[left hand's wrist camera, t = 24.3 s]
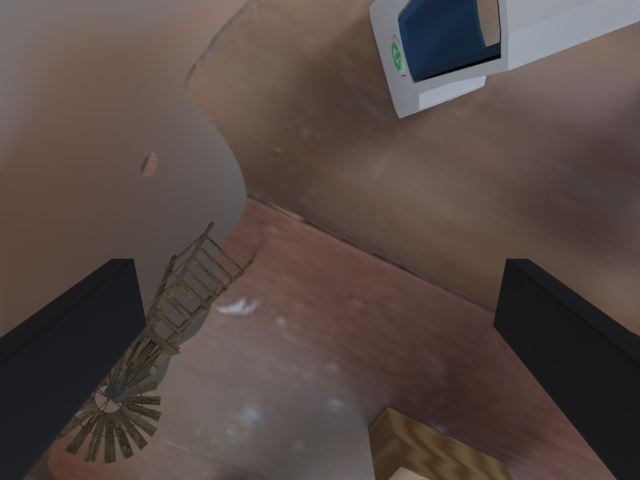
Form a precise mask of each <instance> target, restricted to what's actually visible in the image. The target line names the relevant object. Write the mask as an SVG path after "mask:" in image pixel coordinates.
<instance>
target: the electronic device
mask: <svg viewBox="0 0 640 480" xmlns="http://www.w3.org/2000/svg"><path fill="white" fill-rule="evenodd" d="M497 2H498V13H499V25H500V42H499V43H496V44H494V45H491V46H488V47H486V45H485V43H484V39H483V36H482V32H481V28H480V22H479V17H478V9H477V0H375V1H374V2H373V3H372V4H371V5H370V7H369V11H370V20H371V24H372V28H373V31H374V35H375V39H376V42H377V46H378V50H379V53H380V57H381V61H382V64H383V68H384V72H385V75H386V79H387V83H388V86H389V90H390V93H391V97H392V101H393V104H394V108H395V111H396V113H397V115H398V117H399V119H400V118H403V117H406V116H408V115H411V114H414V113H416V112H419V111H422V110H424V109H427V108H430V107H432V106H435V105H438V104H440V103H443V102H446V101H448V100H451V99H453V98H456V97H459V96H461V95H464V94H466V93H468V92H471V91H473V90H476V89H478V88H481V87H483V86H484V84H485V78H486V75H490V74H495V73H500V72H505V71H509V70H511V69H514V68H517V67H519V66H522V65H525V64H527V63H530V62H532V61H535V60H538V59H540V58H543V57H546V56H548V55H551V54H554V53H556V52H559V51H562V50H564V49H567V48H569V47H572V46H575V45H577V44H580V43H583V42H585V41H588V40H591V39H593V38H596V37H599V36H601V35H604V34H607V33H609V32H612V31H614V30H617V29H620V28H622V27H625V26H628V25H630V24H633V23H636V22H638V21H640V0H497Z"/></svg>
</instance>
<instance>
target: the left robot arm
mask: <svg viewBox="0 0 640 480" xmlns="http://www.w3.org/2000/svg"><path fill="white" fill-rule="evenodd" d="M146 326H147V325H146V320H145V315H144V309H143V305H142V299H141V294H140V289H139V284H138V279H137V274H136V269H135V264H134V259H111V260H109V261H108V262H107V263H105V264H104V265H102V266H101V267H100V268H98V269H97V270H95V271H94V272H93V273H91V274H90V275H88V276H87V277H86V278H84V279H83V280H81V281H80V282H79V283H77V284H76V285H74V286H73V287H71V288H70V289H69V290H67V291H66V292H65V293H63V294H62V295H60V296H59V297H57V298H56V299H55V300H53V301H52V302H51V303H49V304H48V305H46V306H45V307H43V308H42V309H41V310H39V311H38V312H36V313H35V314H34V315H32V316H31V317H29V318H28V319H27V320H25V321H24V322H22V323H21V324H20V325H18V326H17V327H15V328H14V329H13V330H11V331H10V332H8V333H7V334H6V335H4V336H2V337H0V480H23V479H24V478H25V476H26V475H27V474H28V473H29V472H30V470H31V469H32V468H33V467H34V465H35V464H36V463H37V462H38V460H39V459H40V458H41V457H42V455H43V454H44V453H45V452H46V450H47V449H48V448H49V447H50V445H51V444H52V443H53V442H54V440H55V439H56V438H57V437H58V436H59V434H60V433H61V432H62V431H63V429H64V428H65V427H66V426H67V424H68V423H69V422H70V421H71V419H72V418H73V417H74V416H75V414H76V413H77V412H78V411H79V409H80V408H81V407H82V406H83V404H84V403H85V402H86V401H87V399H88V398H89V397H90V396H91V395H92V393H93V392H94V391H95V390H96V388H97V387H98V386H99V385H100V383H101V382H102V381H103V380H104V378H105V377H106V376H107V375H108V373H109V372H110V371H111V370H112V368H113V367H114V366H115V365H116V363H117V362H118V361H119V360H120V358H121V357H122V356H123V355H124V353H125V352H126V351H127V350H128V349H129V347H130V346H131V345H132V344H133V342H134V341H135V340H136V339H137V337H138V336H139V335H140V334H141V332H142V331H143V330H144V329H145V327H146ZM493 326H494V327H495V329H496V330H497V331H498V332H499V334H500V335H501V336H502V337H503V339H504V340H505V341H506V342H507V344H508V345H509V346H510V347H511V349H512V350H513V351H514V352H515V353H516V355H517V356H518V357H519V358H520V360H521V361H522V362H523V363H524V365H525V366H526V367H527V368H528V370H529V371H530V372H531V373H532V375H533V376H534V377H535V378H536V380H537V381H538V382H539V383H540V385H541V386H542V387H543V388H544V390H545V391H546V392H547V393H548V395H549V396H550V397H551V398H552V399H553V401H554V402H555V403H556V404H557V406H558V407H559V408H560V409H561V411H562V412H563V413H564V414H565V416H566V417H567V418H568V419H569V421H570V422H571V423H572V424H573V426H574V427H575V428H576V429H577V431H578V432H579V433H580V434H581V436H582V437H583V438H584V439H585V440H586V442H587V443H588V444H589V445H590V447H591V448H592V449H593V450H594V452H595V453H596V454H597V455H598V457H599V458H600V459H601V460H602V462H603V463H604V464H605V465H606V467H607V468H608V469H609V470H610V472H611V473H612V474H613V475H614V477H615V478H616V479H617V480H640V336H639V335H637V334H635V333H633V332H630V331H629V330H627V329H626V328H625V327H623V326H622V325H620V324H619V323H618V322H616V321H615V320H613V319H612V318H611V317H609V316H608V315H606V314H605V313H604V312H602V311H601V310H599V309H598V308H597V307H595V306H594V305H592V304H591V303H590V302H588V301H587V300H585V299H584V298H583V297H581V296H580V295H578V294H577V293H576V292H574V291H573V290H571V289H570V288H569V287H567V286H566V285H564V284H563V283H561V282H560V281H559V280H557V279H556V278H554V277H553V276H552V275H550V274H549V273H547V272H546V271H545V270H543V269H542V268H540V267H539V266H538V265H536V264H535V263H533V262H532V261H531V260H529V259H506V264H505V269H504V274H503V279H502V284H501V289H500V294H499V299H498V304H497V309H496V315H495V320H494V325H493Z"/></svg>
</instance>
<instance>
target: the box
mask: <svg viewBox="0 0 640 480" xmlns="http://www.w3.org/2000/svg"><path fill="white" fill-rule="evenodd" d="M368 433H369V440H370V446H371V453H372V460H373V466H374V473H375V480H513V479H512V478H511V476H510V474H509V472H508V470H507V468H506V466H505V464H504V463H503V462H501V461H499V460H497V459H495V458H493V457H491V456H489V455H487V454H485V453H482V452H480V451H478V450H476V449H474V448H472V447H470V446H468V445H466V444H464V443H462V442H460V441H458V440H456V439H454V438H452V437H449V436H447V435H445V434H443V433H441V432H439V431H437V430H435V429H433V428H431V427H429V426H427V425H425V424H423V423H421V422H419V421H416V420H414V419H412V418H410V417H408V416H406V415H404V414H402V413H400V412H398V411H396V410H394V409H392V408H390V407H388V406H387V407H386V408H385V410H384V411H383V412H382V413H381V414H380V415H379V417H378V418H377V419H376V420H375V421H374V422H373V424H372V425H371V426H370V427H369V428H368Z"/></svg>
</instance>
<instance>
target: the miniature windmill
mask: <svg viewBox="0 0 640 480" xmlns="http://www.w3.org/2000/svg"><path fill="white" fill-rule="evenodd" d="M213 224H214V223H213V222H211V223H210V224H209V226H208V227H207V229H206V231H205V232H204V234H202V235H201V236H200V237H199V238H198V239H197V240H196V241H195V242H193V243H192V244H191V245H190V246H189V247H188V248H187V249H186V250H185V251H183V252H182V253H181V254H180V255H179V256H178V257H177V256H176V255H174V256H173V257H172V259H171V261H170V263H169V265H168V266H167V267H166V268H165V270H166V269H167V270H166V273H165V275H164V277H163V279H162V282H161V283H160V284H159V285H158V288H159V289H158V291H157V293H156V295H155V298H154V300H153V301H152V302H151V303H150V304H149V307H150V309H149V312H148V314H147V316H146V318H145V320H146V325H147V326H146V327H145V329H144V330H143V331H142V332H141V334H140V335H139V336H138V337H137V339H136V340H135V341H134V342H133V344H132V345H131V346H130V347H129V349H128V350H127V351H126V352H125V353H124V355H123V356H122V357H121V358H120V360H119V361H118V362H117V364H116V367H115V371H114V374H113V378H112V381H111V371H110V372H109V373H108V375H107V376H106V382H105V379H104V380H103V381H102V382H101V384H100V385H99V386H98V387H97V388H96V390H95V391H94V392H93V393H92V395H91V396H90V397H89V398H88V399H87V401H90V402H86V403H84V404H83V406H82V407H81V408H80V409H79V411H82V410H85V409H88V408H90V409H88V410H86V411H85V412H83V413H82V414H80V415H79V416H77V417H75V416H74V417H75V418H74V419H72V420H71V421H70V422H69V423H68V424H67V426H66V427H65V428H64V429H63V431H62V432H61V433H60V434H59V436H58V437H57V438H56V439H55V440H56V441H58V440H60V439H61V438H62V437H64V436H65V435H66V434H68V433H69V432H70V431H72V430H73V429H74V428H75V427H77V426H78V425H79V424H80V425H81V423H82V422H83V421H85V420H86V419H87V418H89V417H90V416H91V415H92V417H91V418H90V419H89V420H88V422H87V423H86V424H85V425H84V427H83V426H82V425H81V426H82V427H83V428H82V429H81V430H80V432H79V433H78V434H77V435H76V437H75V438H74V439H73V440H72V442H71V443H70V444H69V446H68V447H67V448H66V449H65V451H66V452H68V453H70V454H73V455H75V454H76V452H77V451H78V449H79V448H80V446H81V445H82V443H83V442H84V440H85V439H86V437H87V436H88V434H89V433H92V434H93V436H92V439H91V442H90V445H89V447H88V450H87V453H86V456H85V459H84V461H87V462H95V460H96V456H97V453H98V449H99V445H100V441H101V438H102V434H103V430H104V426H105V436H103V437H105V461H104V464H108V463H112V462H116V460H115V444H114V436H117V439H118V442H119V445H120V449H121V452H122V455H123V458H124V460H125V459H127V458H129V457H131V456H133V455H134V454H133V452H132V449H131V447H130V444H129V441H128V439H127V436H126V434H125V432H126V431H127V432H128V433H129V435H130V436H131V438H132V439H133V441H134V442H135V444H136V445H137V447H138V448H139V450H141V449H142V448H143V447H144V446H146V445H147V444H148V443H147V442H146V440H145V439H144V438H143V437H142V435H141V434H140V433H139V432H138V430H137V429H136V428H135V427H134V425H135V424H136V425H137V426H138V427H140V428H141V429H142V430H143V431H145V432H146V433H147V434H149V435H150V436H151V437H152V436H153V434H154V433H155V431H156V430H157V428H155V427H154V426H152V425H151V424H149V423H148V422H146V421H145V420H144V419H142V418H141V417H140V415H143V416H146V417H148V418H151V419H153V420H156V421H159V418H160V415H161V412H157V411H154V410H151V409H148V408H145V407H142V406H139V405H135V404H151V405H160V398H161V397H157V396H142V394H141V393H145V392H148V391H152V390H156V389H157V385H156V382H152V383H149V384H146V385H143V386H140V387H139V386H138V384H137V383H139V382H140V381H142V380H143V379H145V378H146V377H148V376H149V375H150V373H151V374H153V375H155V373H156V371H157V367H158V366H159V365H160V364H162V363H163V362H164V361H165V360H166V359H168V358H169V357H170V356H172V355H176V354H179V353H180V352H179V351H178V350H179V349H180V348H179V347H178V346H176V345H174V344H175V343H176V340H177V339H178V338H179V337H181V338H184V332H183V331H184V330H185V329H186V328H187V327H188V326H189V325H190V324H191V323H193V322H194V321H195V320H196V319H197V318H199V317H200V316H201V315H202V314H204V313H205V312H206V311H207V310H208V308H209V307H208V306H209V305H210V304H211V303H213V302H214V301H215V300H216V299H218V298H219V297H220V296H221V295H222V294H224V293H225V291H226V290H227V289H228V287H229V286H230V285H231V284H232V283H233V282H234V283H236V279H238V278H239V277H240V276H241V275H243V274H244V273H245V270H246V269H247V268H248V267H249V266H250V265H251V264H252V263H253V261H252V260H251V261H250V262H249V263H248V264H247V265H246V266H244V267H243V268H242V269H241V268H240V267H239V266H238V265H237V264H236V263H235V262H234V261H233V260H232V259H231V258H230V257H229V256H228V255H227V254H226V253H225V252H224V251H223V250H222V249H221V248H220V247H218V246H217V245H216V244H215V243H214V242H213V241H212V240H211V239H210V238H209V237H208V236H207V235H208V233H209V231H210V230H211V228H212V226H213ZM205 239H207V240H208V241H209V242H210V243H211V244H212V245H213V246H214V247H215V248H216V249H217V250H218V251H219V252H220V253H221V254H222V255H223V256H224V257H225V258H226V259H228V260H229V261H230V262H231V263H232V264H233V265H234V266H235V267H236V268H237V269H238V270H239V272H238V273H237V274H236V275H235V276H234V277H232V276H231V275H230V274H229V273H228V272H227V271H226V270H225V269H224V268H223V267H222V266H221V265H220V264H219V263H218V262H216V261H215V260H214V259H213V258H212V257H211V256H210V255H209V254H208V253H207V252H206V251H205V250H204V249H203V248H202V247H201V246H202V244H203V242H204V240H205ZM199 240H200V241H199ZM197 241H199V243H198V244H197V245H196V248H195V250H194V251H193V253H192V255H191V256H190V258H188V259H187V260H186V261H185V262H184V263H183V264H182V265H180V266H179V267H178V268H177V269H176V270H175V271H174V272H172V271H171V270H172V268H173V265H174V263H175V261H176V260H177V259H178V258H180V257H181V256H182V255H183V254H184V253H185V252H186V251H187V250H188V249H190V248H191V247H192V246H193V245H194V244H195V243H196V242H197ZM199 250H200V251H201V252H203V254H205V255H206V256H207V257H208V258H209V259H210V260H211V261H212V262H213V263H214V264H215V265H216V266H217V267H218V268H219V269H220V270H221V271H222V272H223V273H224V274H225V275H226V276H228V277H229V278H230V279H231V280H230V281H229V282H228V283H227V284H226V285H224V284H223V283H222V282H220V281H219V280H218V279H217V278H216V277H215V276H214V275H213V274H212V273H211V272H210V271H209V270H207V269H206V268H205V267H204V266H203V265H202V264H201V263H200V262H199V261H198V260H197V259H196V258H195V256H196V254H197V253H198V251H199ZM192 261H194V262H195V263H196V264H197V265H198V266H199V267H200V268H201V269H202V270H203V271H205V272H206V273H207V274H208V275H209V276H210V277H211V278H212V279H213V280H214V281H215V282H217V283H218V284H219V285H220V286H221V287H222V289H221V290H220V291H219V292H218V293H217V294H216V292H215V291H214V292H213V291H212V290H210V289H209V288H208V287H207V286H206V285H205V284H204V283H203V282H202V281H200V280H199V279H198V278H197V277H196V276H195V275H194V274H193V273H192V272H191V271H189V270H188V268H189V267H190V265H191V263H192ZM185 264H186V265H185ZM184 265H185V267H184V268H183V270H182V272H181V274H180V275H179V277H178V276H177V275H176V274H175V273H176V272H177V271H178V270H179V269H180V268H182V267H183V266H184ZM170 273H171V274H170ZM186 273H187V274H188V275H189V276H191V277H192V278H193V279H194V280H195V281H196V282H197V283H198V284H199V285H201V286H202V287H203V288H204V289H205V290H206V291H207V292H208V293H209V294H210V295H209V296H208V297H207V298H206V300H205V301H204V300H203V299H202V298H201V297H200V296H199V295H198V294H197V293H195V292H194V291H193V290H192V289H191V288H190V287H189V286H188V285H187V284H186V283H185V282H183V281H182V279H183V277H184V275H185V274H186ZM171 276H174V277H175V278H176V279H177V280H176V282H174V283H173V284H172V285H171V286H170V287H168V288H167V289H166V290H165V289H164V287H165V285H166V282H167V280H168V279H169V278H170V277H171ZM178 286H179V287H180V288H181V289H183V290H184V291H185V292H186V293H187V294H188V295H189V296H191V297H192V298H193V299H194V300H195V301H196V302H198V303H199V304H200V306H199V307H198V308H197V309H196V310H195V311H194V312H193V313H191V312H189V311H188V310H187V309H186V308H185V307H184V306H183V305H182V304H180V303H179V302H178V301H177V300H176V299H175V298H174V297H173V295H174V293H175V291H176V290H177V288H178ZM171 288H172V289H171ZM170 289H171V291H170V293H168V291H169V290H170ZM224 290H225V291H224ZM162 292H163V293H162ZM164 294H166V295H167V298H166V299H165V301H164V303H163V305H162V306H161V308H160V310H158V309H157V308H156V306H157V304H158V301H159V299H160V298H161V297H162V296H163V295H164ZM173 301H174V302H173ZM168 304H170V305H171V306H172V307H174V308H175V309H176V310H177V311H178V312H179V313H180V314H182V315H183V316H184V317H185V318H186V320H185V321H184V322H183V323H182V324H181V325H180V326H179V327H177V326H176V325H175V324H174V323H173V322H172V321H170V320H169V319H168V318H167V317H166V316H165V315H163V313H164V311H165V309H166V307H167V305H168ZM181 308H182V309H181ZM154 312H156V313H155V314H153V313H154ZM155 316H156V317H155ZM154 317H155V318H154ZM153 318H154V320H153V322H152V323H151V324H150V321H151V320H152V319H153ZM159 320H161V321H162V322H163V323H164V324H165V325H167V326H168V327H169V328H170V329H171V330H173V331H174V332H173V333H172V334H171V335H170V336H169V337H168V338H167V339H166V340H164V339H163V338H162V337H161V336H160V335H158V334H157V333H156V332H155V331H154V328H155V327H156V325H157V323H158V321H159ZM149 338H150V339H151V340H150V341H149V343H148V344H147V345H146V347H145V348H144V346H145V344H146V342H147V341H148V339H149ZM156 345H158V346H159V348H158V349H157V350H156V351H155V352H154V353H153V354H152V355H151V356H149V355H150V353H151V352H152V350H153V349H154V348H155V346H156ZM143 348H144V349H143ZM142 350H143V351H142ZM124 362H125V363H126V366H127V367H128V368H127V369H126V371H124V370H122V369H121V368H122V366H123V363H124ZM121 370H122V371H124V374H123V375H122V377H121V378H120V380H119V381H118V382H117V380H118V378H119V374H120V371H121ZM134 374H135V375H134ZM131 375H134V376H133V377H131ZM130 377H131V380H130V381H128V380H129V378H130ZM127 381H128V382H127ZM126 382H127V383H126ZM136 384H137V386H138V387H136V388H133V389H130V388H131V387H132V386H134V385H136ZM108 385H109V386H108ZM103 386H108V387H107V388H106V390H105V392H104V393H105V394H106V395H105V394H104V393H103V392H102V391H100V390H99V388H100V387H103ZM128 389H130V390H128ZM97 390H99V391H100V392H101V393H103V394H104V395H103V394H101V393H99V392H97ZM96 392H97V393H99V394H101V395H103V396H105V397H107V401H108V402H109V401H110V400H111V401H113V402H114V403H115V402H117V403H122V405H121V407H120V406H119V405H118V404H117V403H115V404H117V405H118V406H119V407H120V408H119V410H118V411H116V412H113V413H106V412H103V411H104V410H103V411H101V410H100V408H101V407H102V406H103V405H104V404H105V403H106V402H107V401H106V402H105V403H104V404H103V405H102V406H101V407H100V408H98V407H97V405H96V403H95V394H96ZM137 394H141V396H133V395H137ZM108 402H107V404H108ZM132 403H134V404H132ZM107 404H106V405H107ZM105 407H106V406H105ZM104 409H105V408H104ZM99 410H100V411H99ZM79 411H78V412H79ZM132 411H133V412H135V413H138V414H140V415H139V416H138V415H136V414H135V413H133V412H132ZM129 419H130V420H131V421H132V422H133V423H135V424H134V425H133V424H132V423H131V422H130V420H129ZM97 421H98V422H97ZM96 422H97V425H96V428H95V431H94V433H93V432H91V430H92V428H93V427H94V425H95V424H96ZM113 425H114V428H113ZM122 425H123V426H124V428H125V429H126V431H124V429H123V426H122ZM114 429H115V432H116V435H114Z"/></svg>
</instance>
